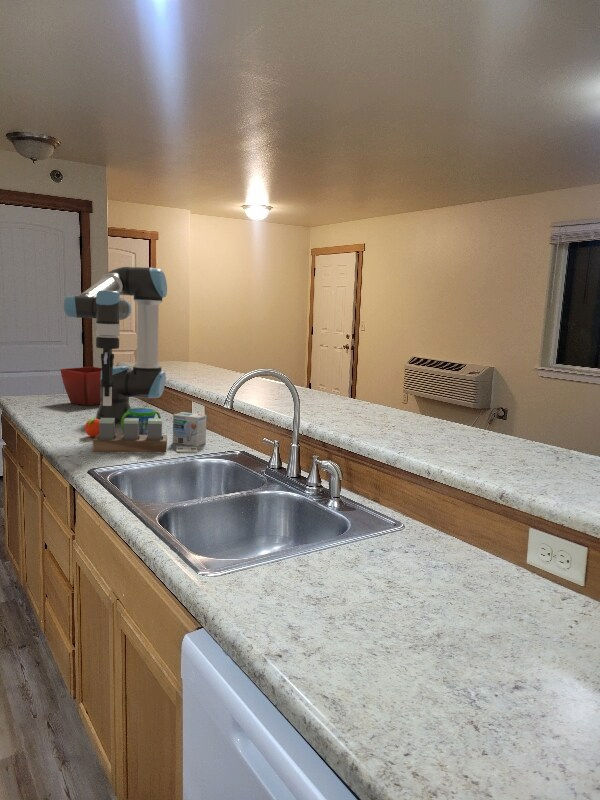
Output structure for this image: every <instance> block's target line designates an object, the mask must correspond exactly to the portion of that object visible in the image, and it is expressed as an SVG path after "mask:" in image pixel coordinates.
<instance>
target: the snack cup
mask: <svg viewBox="0 0 600 800" xmlns="http://www.w3.org/2000/svg"><path fill="white" fill-rule="evenodd" d="M127 415H128V418H139V435H148V419H149V418H155V417H156V415H157V417H158V419H162V416H161V414H160V413H159V412H158V411H156V409H153V408H149V407H148V408H146V407H137V408H135V407H134V408H131V409H128V410H127V412H126V413H124V415H123V416H122V419H121V423H120V426H121V429H122V430H124V419H125V417H126V416H127Z"/></svg>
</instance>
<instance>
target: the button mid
mask: <svg viewBox="0 0 600 800" xmlns="http://www.w3.org/2000/svg"><path fill="white" fill-rule="evenodd" d="M123 435H124V440H138V438H139V418H125V419H124V429H123Z"/></svg>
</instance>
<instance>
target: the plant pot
mask: <svg viewBox="0 0 600 800" xmlns="http://www.w3.org/2000/svg"><path fill="white" fill-rule="evenodd" d="M101 370H102V367H97V366H83V367H82V366H81V367H72V368H71V367H70V368H60V375H61V379H62V382H63V387H64V389H65V392H66V394H67V397H68V400H69V402H70V403H71V404H74V403H76V405H79V404H82V405H81V406H84V405H90V406H96V405H95V404H97V405H100V402H101V396H100V378H101Z"/></svg>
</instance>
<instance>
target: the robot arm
mask: <svg viewBox="0 0 600 800" xmlns="http://www.w3.org/2000/svg"><path fill="white" fill-rule="evenodd" d="M120 296H131V297H133V302H135V303H136V306H137V311H136V313H137V315H136V318H137V320H136V322H137V324H136V329H137V330H136V332H137V333H136V351H137V352H136V362H135V363H134V364H133V365H132V369H130V366H128V365H118V366H114V359H115V354H114V353H113V350H116V349H117V350H118V349H120V338H119V337H120V334H121V333H120V329H121V328H120V321H122V320H126V319H127V318H128V317H130V315H131V313H132V307H131V303H130V302H129V301H128V300H127V299H124V298H123V297H120ZM167 296H168V284H167V279H166V275H165V273H164V271H163V270H162V269H161V268H158V267H157V268H156V267H138V266H122V267H117V268H115V269H111V270H109V271H108V272H105V273H104V274H103V275H101V276H100V278H99V280H98V282H96V283H95V284H92V285H91V286H90V287H89V288H88V289H86V290H85V291H83V292H81V294H79V295H67V296H65V298H64V300H63V312H64V314H65V315H66V317H69V318H76V319H77V318H78V319H80V318H82V319H83V318H84V319H96V320H95V324H96V325H95V326H94V330H96V331H95V335H96V338H95V348H96V349H102V353H101V354H100V361H101V368H102V370H101V378H100V396H101V402H100V404H99V407H98V409H97V412H96V415H95V419H99V420H100V419H101V418H115V424H121V419H122V416H123V415H124V413H126V412H127V410H128V409H132V407H131V405H130V398H142V399H143V398H146V399H157V398H160V397H161V396H162V395H163V392H164V389H165V386H166V380H167V376H166V375H167V374H166V371H164V370H162V366H161V365H160V363H159V309H160V308H159V307H160V304H162V303H163V298H166V297H167ZM125 418H128V415H127V416H126V417H125Z"/></svg>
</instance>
